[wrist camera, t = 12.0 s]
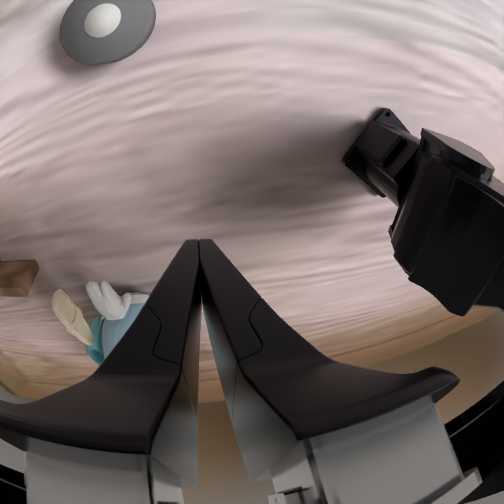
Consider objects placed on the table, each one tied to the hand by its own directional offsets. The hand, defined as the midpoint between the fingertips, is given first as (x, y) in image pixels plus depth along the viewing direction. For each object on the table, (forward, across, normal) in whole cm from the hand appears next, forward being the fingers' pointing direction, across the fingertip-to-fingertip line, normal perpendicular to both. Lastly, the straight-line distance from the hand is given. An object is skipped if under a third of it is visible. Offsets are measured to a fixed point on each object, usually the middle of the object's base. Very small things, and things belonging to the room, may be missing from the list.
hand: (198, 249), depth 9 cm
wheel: (+13, +6, -9) cm, 17 cm away
